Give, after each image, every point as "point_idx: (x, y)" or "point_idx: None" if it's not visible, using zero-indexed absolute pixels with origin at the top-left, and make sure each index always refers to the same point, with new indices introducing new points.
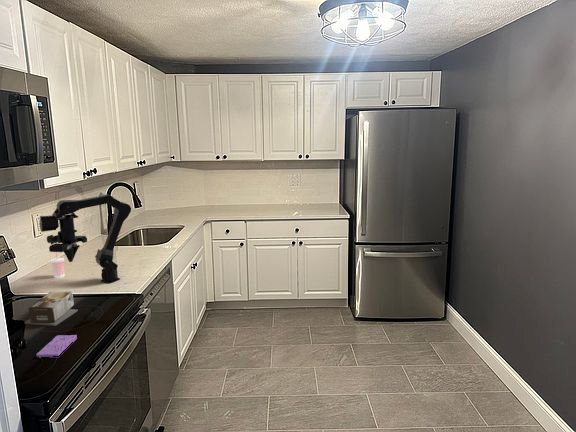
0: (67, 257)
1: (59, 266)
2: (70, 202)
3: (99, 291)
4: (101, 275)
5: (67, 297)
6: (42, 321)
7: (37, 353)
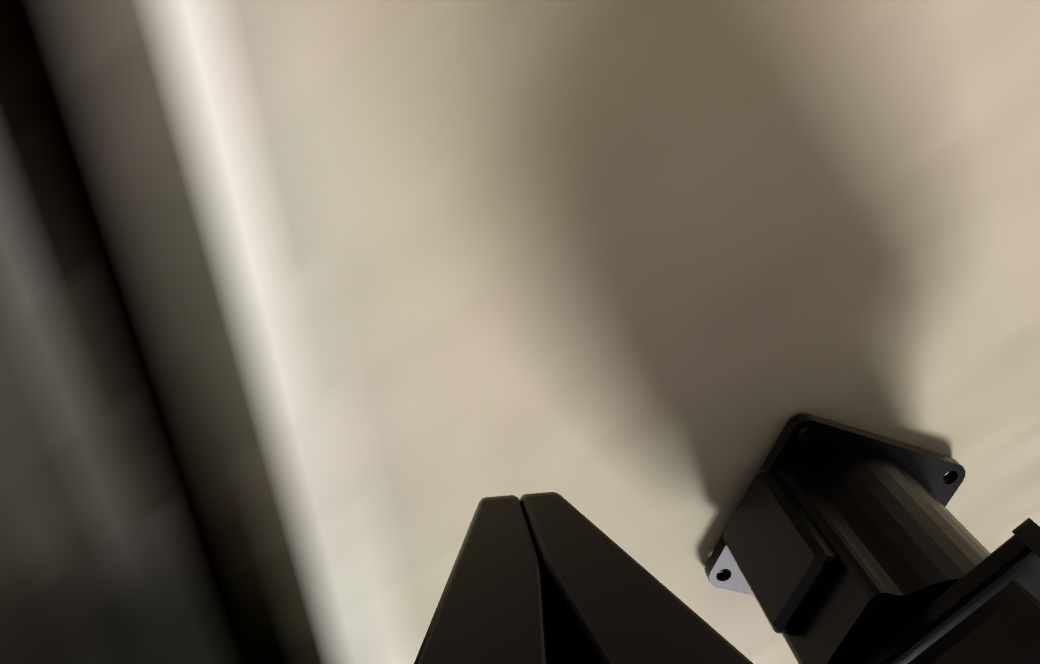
0: (426, 661)
1: None
2: None
3: (412, 614)
4: (796, 532)
5: None
6: None
7: None
